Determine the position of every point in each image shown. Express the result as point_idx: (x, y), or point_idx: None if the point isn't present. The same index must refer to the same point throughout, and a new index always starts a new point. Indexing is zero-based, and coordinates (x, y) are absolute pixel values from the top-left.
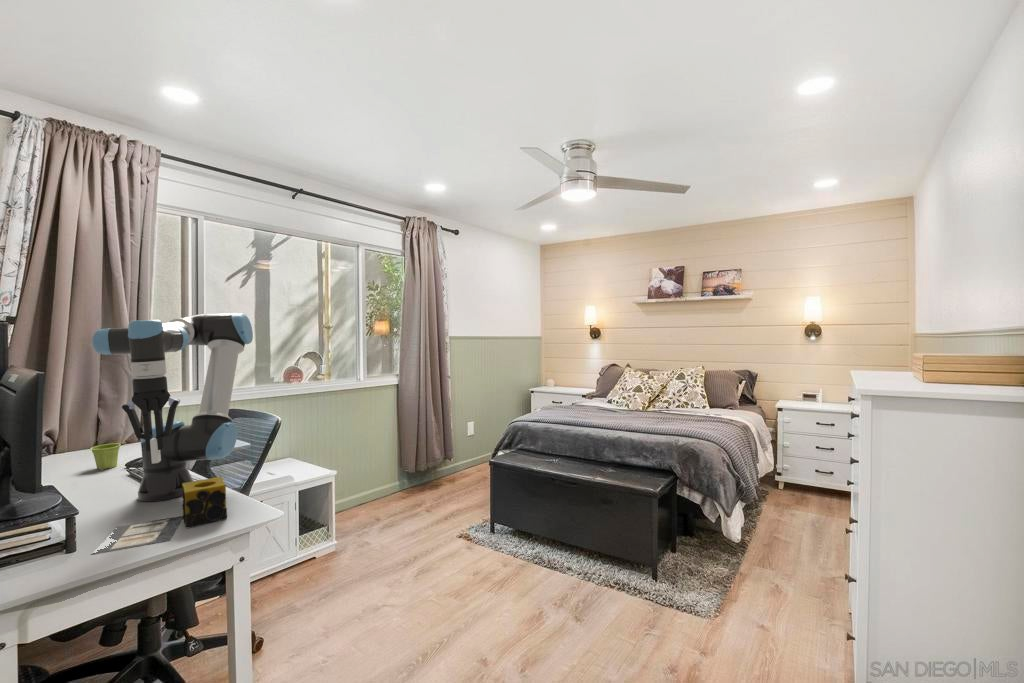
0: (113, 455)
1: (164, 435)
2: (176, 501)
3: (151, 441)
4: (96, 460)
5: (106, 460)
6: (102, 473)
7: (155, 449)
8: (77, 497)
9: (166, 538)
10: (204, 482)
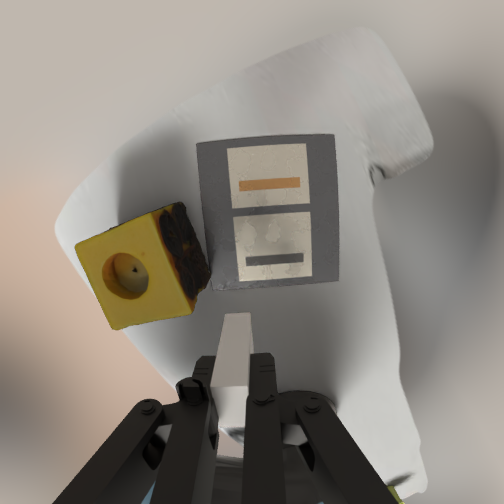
0: None
1: (169, 407)
2: None
3: (239, 379)
4: (396, 493)
5: None
6: (388, 479)
7: (226, 349)
8: (412, 425)
9: (206, 157)
10: (134, 298)
